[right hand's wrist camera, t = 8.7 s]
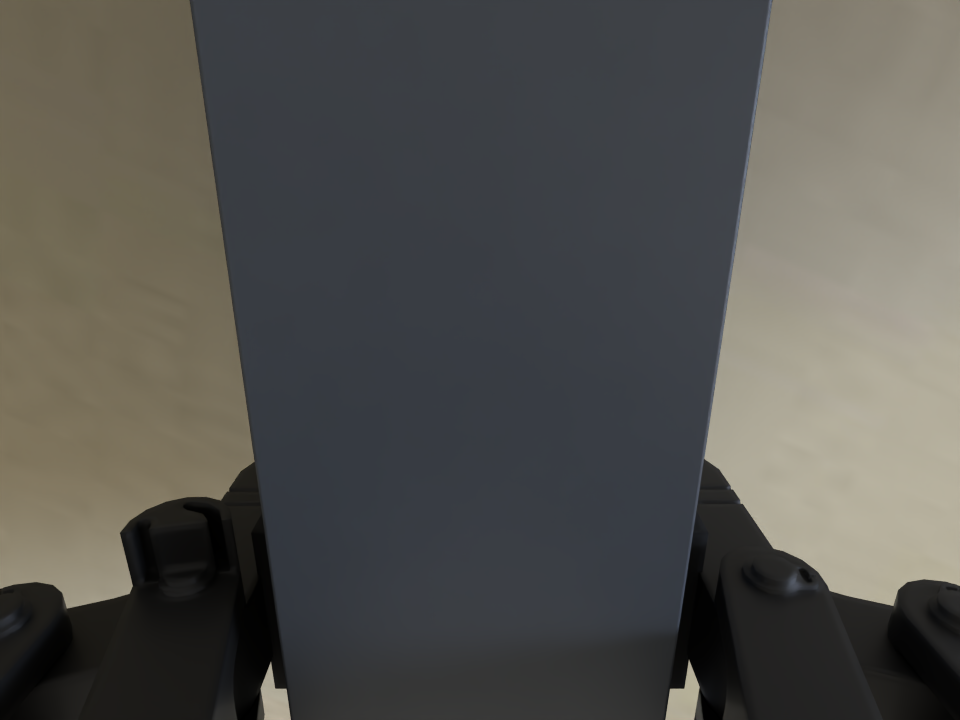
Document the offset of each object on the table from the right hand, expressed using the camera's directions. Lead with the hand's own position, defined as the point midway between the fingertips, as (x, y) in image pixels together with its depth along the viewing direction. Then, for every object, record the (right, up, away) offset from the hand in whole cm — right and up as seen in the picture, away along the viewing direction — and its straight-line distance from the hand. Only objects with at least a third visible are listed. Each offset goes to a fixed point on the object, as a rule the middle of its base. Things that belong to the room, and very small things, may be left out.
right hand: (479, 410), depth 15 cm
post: (0, +24, -9) cm, 26 cm away
